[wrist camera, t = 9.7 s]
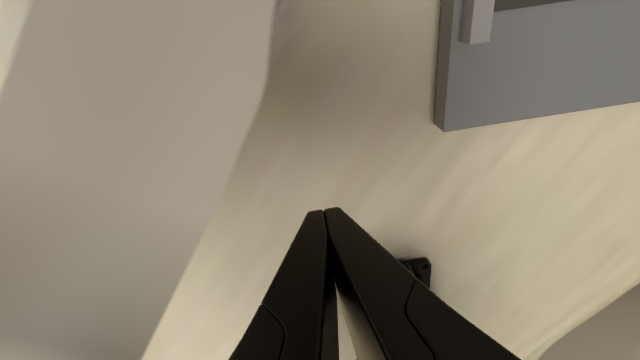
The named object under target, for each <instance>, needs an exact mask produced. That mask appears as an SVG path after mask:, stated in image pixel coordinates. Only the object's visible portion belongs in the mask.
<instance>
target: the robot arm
mask: <svg viewBox="0 0 640 360" xmlns="http://www.w3.org/2000/svg"><path fill="white" fill-rule="evenodd" d="M430 274H431V263H430V262H429V260H428V259H419V260H413V261H407V262H399V261H398V260H397V259H395V258H394V257H393V256H392V255H391V254H390V253H389V252H388V251H387V250H386V249H385V248H383V247H382V246H381V245H380V244H379V243H378V242H377V241H376V240H375V239H374V238H372V237H371V236H370V235H369V234H368V233H367V232H366V231H365V230H364V229H363V228H361V227H360V226H359V225H358V224H357V223H356V222H355V221H354V220H353V219H352V218H351V217H349V216H348V215H347V214H346V213H345V212H344V211H343V210H342V209H341V208H339V207H334V208H328V209H325V210H324V211H323V210H315V211H310V212H308V213H307V215H306V217H305V219H304V221H303V223H302V225H301V227H300V229H299V231H298V232H297V234H296V236H295V238H294V240H293V242H292V244H291V246H290V248H289V250H288V252H287V254H286V256H285V258H284V260H283V262H282V263H281V265H280V267H279V269H278V271H277V273H276V275H275V277H274V279H273V281H272V283H271V285H270V287H269V289H268V291H267V293H266V294H265V296H264V298H263V300H262V302H261V305H260V306H259V308H258V310H257V312H256V314H255V316H254V317H253V319H252V321H251V323H250V325H249V327H248V328H247V330H246V332H245V334H244V336H243V337H242V339H241V341H240V342H239V344H238V345H237V347H236V349H235V350H234V352H233V353H232V355H231V356H230V358H229V360H339V344H338V317H337V295H336V288H337V292H338V296H339V300H340V303H341V306H342V309H343V313H344V316H345V319H346V323H347V326H348V329H349V332H350V336H351V339H352V342H353V346H354V349H355V352H356V355H357V360H521V359H520V358H518V357H517V356H515V355H514V354H513V353H511V352H510V351H509V350H507V349H506V348H505V347H503V346H502V345H500V344H499V343H498V342H496V341H495V340H494V339H492V338H491V337H490V336H488V335H487V334H485V333H484V332H483V331H481V330H480V329H479V328H477V327H476V326H475V325H473V324H472V323H470V322H469V321H468V320H467V319H465V318H464V317H463V316H461V315H460V314H459V313H457V312H456V311H455V310H454V309H452V308H451V307H450V306H448V305H447V304H446V303H445V302H444V301H442V300H441V299H440V298H439V297H438V296H437V295H435V294H434V293H433V292H432V291H431V290H430V289H429V288H430ZM334 277H335V278H334ZM335 283H336V285H335Z"/></svg>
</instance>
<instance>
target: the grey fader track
mask: <svg viewBox="0 0 640 360" xmlns="http://www.w3.org/2000/svg"><path fill="white" fill-rule="evenodd" d="M633 102H640V0H441V15H440V32H439V48H438V64H437V81H436V97H435V113H434V124H436V125H437V126H438V127H439V128H440V129H441V130H442V131H443V132H447V131H453V130H460V129H466V128H472V127H479V126H485V125H492V124H498V123H505V122H511V121H518V120H524V119H530V118H537V117H543V116H550V115H556V114H563V113H569V112H575V111H582V110H588V109H595V108H601V107H608V106H614V105H621V104H627V103H633Z"/></svg>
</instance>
